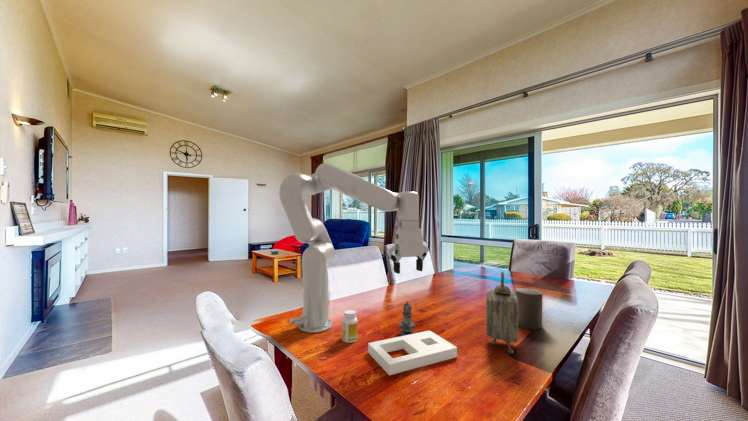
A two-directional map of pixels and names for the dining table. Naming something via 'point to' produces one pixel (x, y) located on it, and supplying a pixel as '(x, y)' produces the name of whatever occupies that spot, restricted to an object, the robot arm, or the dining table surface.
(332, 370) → the dining table surface
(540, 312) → the pillar candle
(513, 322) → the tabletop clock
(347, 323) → the supplement bottle
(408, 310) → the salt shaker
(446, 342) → the socket board
